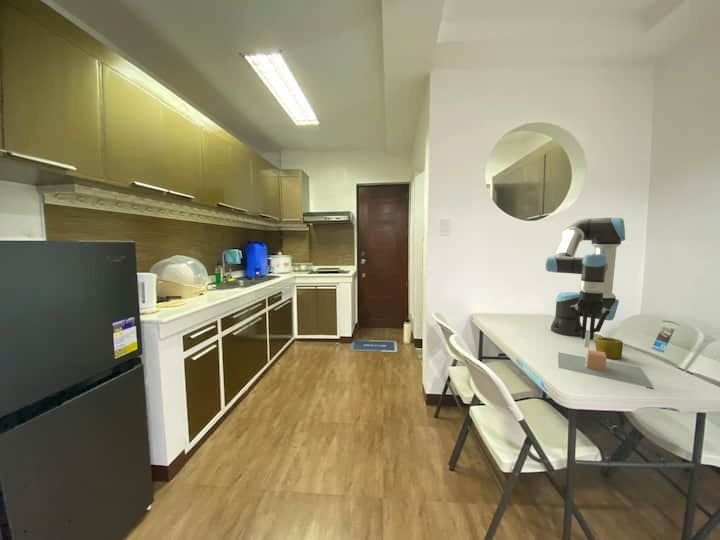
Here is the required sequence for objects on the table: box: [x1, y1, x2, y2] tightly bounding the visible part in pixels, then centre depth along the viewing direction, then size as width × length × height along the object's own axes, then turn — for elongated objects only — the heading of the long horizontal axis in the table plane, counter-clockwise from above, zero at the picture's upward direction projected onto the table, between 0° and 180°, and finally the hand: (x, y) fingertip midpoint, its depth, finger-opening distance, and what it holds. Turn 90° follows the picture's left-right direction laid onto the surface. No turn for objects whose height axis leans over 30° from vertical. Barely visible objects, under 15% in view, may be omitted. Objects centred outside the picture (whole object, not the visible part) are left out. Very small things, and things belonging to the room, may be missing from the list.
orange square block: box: [585, 348, 608, 371], centre depth 117 cm, size 6×6×6 cm
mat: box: [557, 351, 654, 390], centre depth 117 cm, size 20×28×1 cm
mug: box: [593, 336, 624, 360], centre depth 130 cm, size 12×10×10 cm
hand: (586, 346), depth 119 cm, fingers closed
